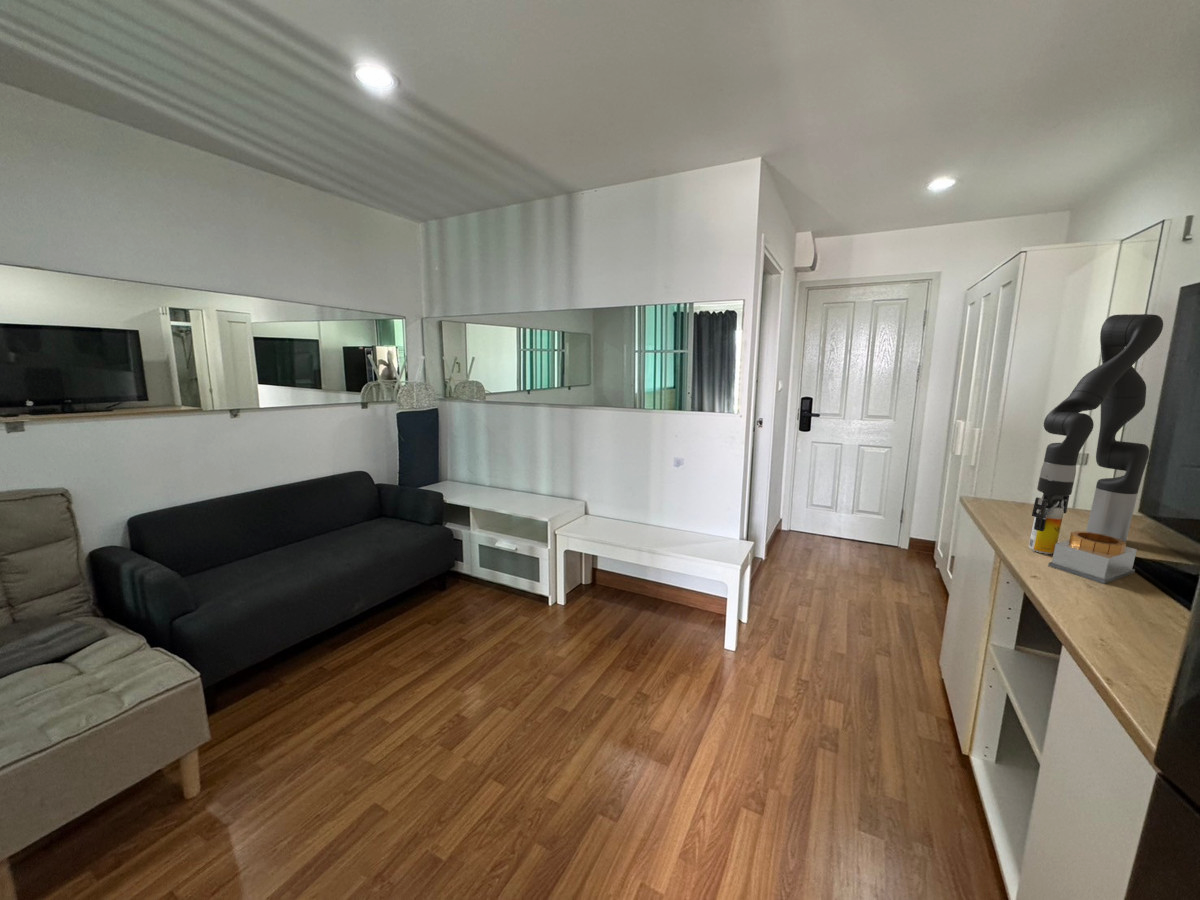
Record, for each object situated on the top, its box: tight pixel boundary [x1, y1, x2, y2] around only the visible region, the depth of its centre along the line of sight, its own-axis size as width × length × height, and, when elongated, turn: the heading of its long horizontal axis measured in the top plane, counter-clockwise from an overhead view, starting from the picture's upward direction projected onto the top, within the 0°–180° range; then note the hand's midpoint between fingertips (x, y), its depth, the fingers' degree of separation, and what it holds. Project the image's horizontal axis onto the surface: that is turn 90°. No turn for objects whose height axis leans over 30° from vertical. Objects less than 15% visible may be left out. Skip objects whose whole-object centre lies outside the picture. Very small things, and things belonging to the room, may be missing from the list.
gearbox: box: [1047, 530, 1138, 585], centre depth 132 cm, size 21×12×10 cm, turn 113°
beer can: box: [1028, 507, 1065, 555], centre depth 143 cm, size 6×6×15 cm
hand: (1046, 528), depth 143 cm, fingers open, 8 cm apart
